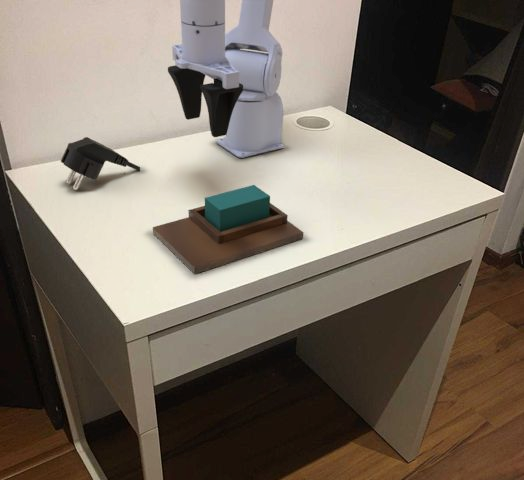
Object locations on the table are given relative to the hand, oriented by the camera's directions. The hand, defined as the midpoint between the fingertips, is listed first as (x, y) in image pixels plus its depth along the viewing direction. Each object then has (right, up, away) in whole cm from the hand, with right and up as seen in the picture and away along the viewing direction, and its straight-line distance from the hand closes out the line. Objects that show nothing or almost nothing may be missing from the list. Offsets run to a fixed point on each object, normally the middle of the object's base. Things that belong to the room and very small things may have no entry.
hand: (205, 126), depth 84 cm
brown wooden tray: (+4, -17, -5) cm, 18 cm away
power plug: (-16, -6, +7) cm, 19 cm away
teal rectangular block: (+5, -14, -3) cm, 16 cm away
